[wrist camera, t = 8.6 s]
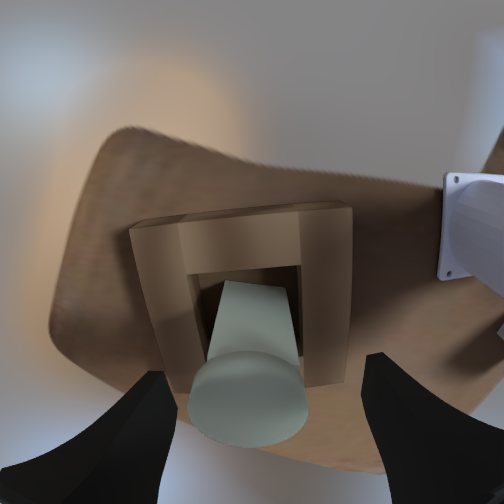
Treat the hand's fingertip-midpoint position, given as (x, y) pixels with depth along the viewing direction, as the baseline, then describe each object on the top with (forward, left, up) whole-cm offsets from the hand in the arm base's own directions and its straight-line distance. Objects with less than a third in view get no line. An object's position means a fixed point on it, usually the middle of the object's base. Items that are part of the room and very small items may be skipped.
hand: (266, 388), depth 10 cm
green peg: (+1, +3, -10) cm, 11 cm away
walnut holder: (+1, +2, -10) cm, 11 cm away
